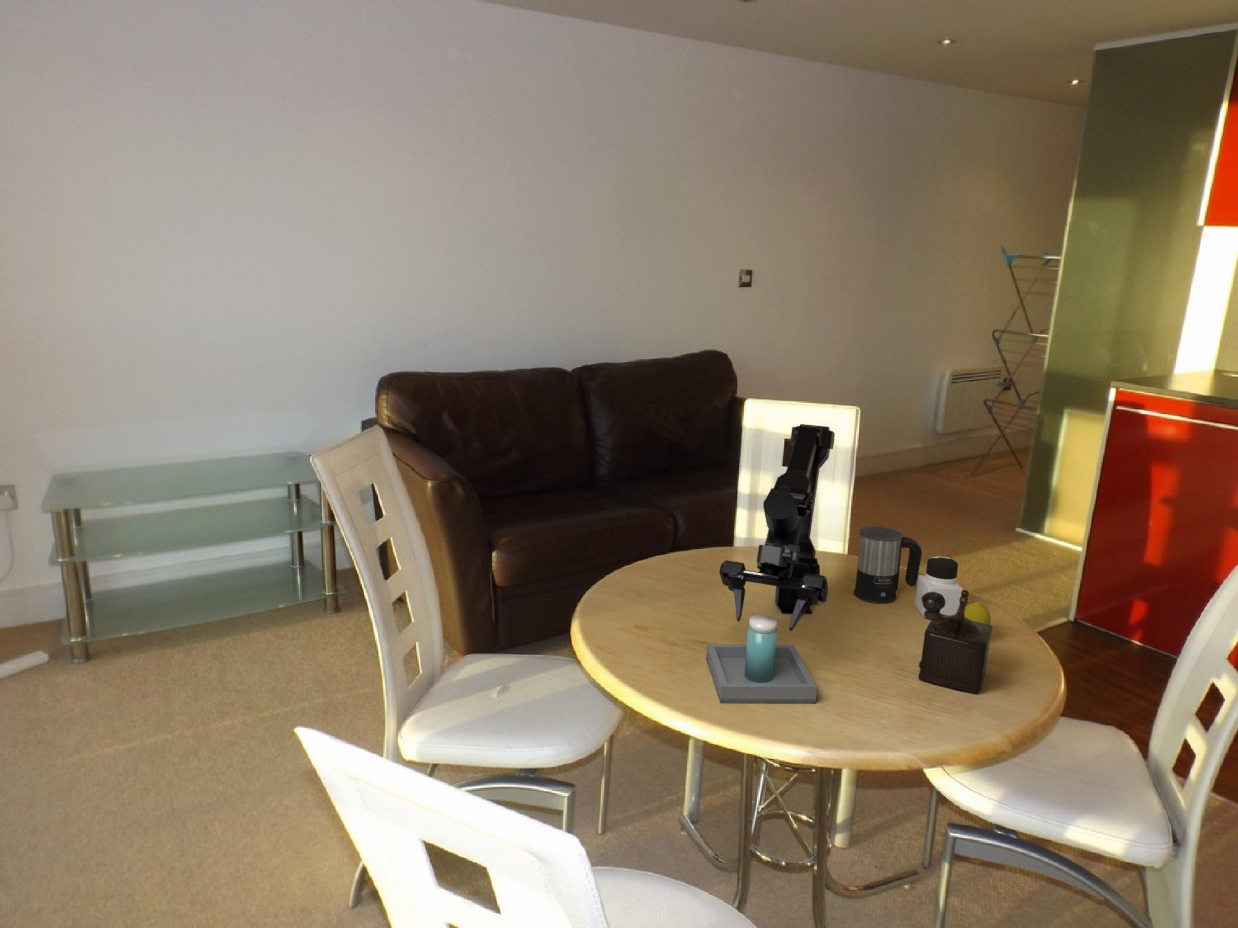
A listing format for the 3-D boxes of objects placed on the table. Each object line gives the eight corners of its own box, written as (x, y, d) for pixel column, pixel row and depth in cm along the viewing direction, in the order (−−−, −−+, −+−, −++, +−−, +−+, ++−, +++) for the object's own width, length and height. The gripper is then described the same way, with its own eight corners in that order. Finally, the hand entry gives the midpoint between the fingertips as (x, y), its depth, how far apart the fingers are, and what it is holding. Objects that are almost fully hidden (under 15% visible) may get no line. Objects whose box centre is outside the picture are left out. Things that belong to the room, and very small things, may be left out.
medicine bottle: (959, 620, 183) (966, 566, 180) (924, 619, 183) (931, 564, 180) (947, 607, 190) (954, 554, 187) (914, 605, 190) (920, 552, 187)
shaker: (759, 666, 158) (764, 612, 155) (779, 678, 154) (784, 622, 151) (738, 673, 155) (742, 618, 153) (757, 685, 151) (762, 628, 149)
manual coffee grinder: (924, 657, 166) (935, 566, 162) (987, 672, 161) (1000, 578, 156) (907, 691, 153) (919, 594, 148) (975, 709, 148) (990, 608, 143)
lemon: (988, 637, 175) (993, 599, 173) (987, 648, 170) (992, 609, 168) (958, 631, 177) (963, 594, 175) (956, 642, 172) (961, 604, 171)
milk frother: (869, 606, 189) (877, 540, 185) (826, 580, 203) (832, 518, 199) (923, 598, 194) (931, 534, 190) (877, 573, 208) (884, 513, 205)
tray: (792, 659, 163) (793, 644, 162) (815, 703, 147) (817, 687, 147) (706, 658, 162) (707, 643, 161) (720, 703, 147) (721, 686, 146)
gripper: (725, 517, 157) (704, 597, 150) (831, 532, 151) (815, 616, 144) (733, 545, 167) (714, 622, 159) (833, 560, 160) (819, 641, 153)
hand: (764, 625), depth 154 cm, fingers open, 9 cm apart
